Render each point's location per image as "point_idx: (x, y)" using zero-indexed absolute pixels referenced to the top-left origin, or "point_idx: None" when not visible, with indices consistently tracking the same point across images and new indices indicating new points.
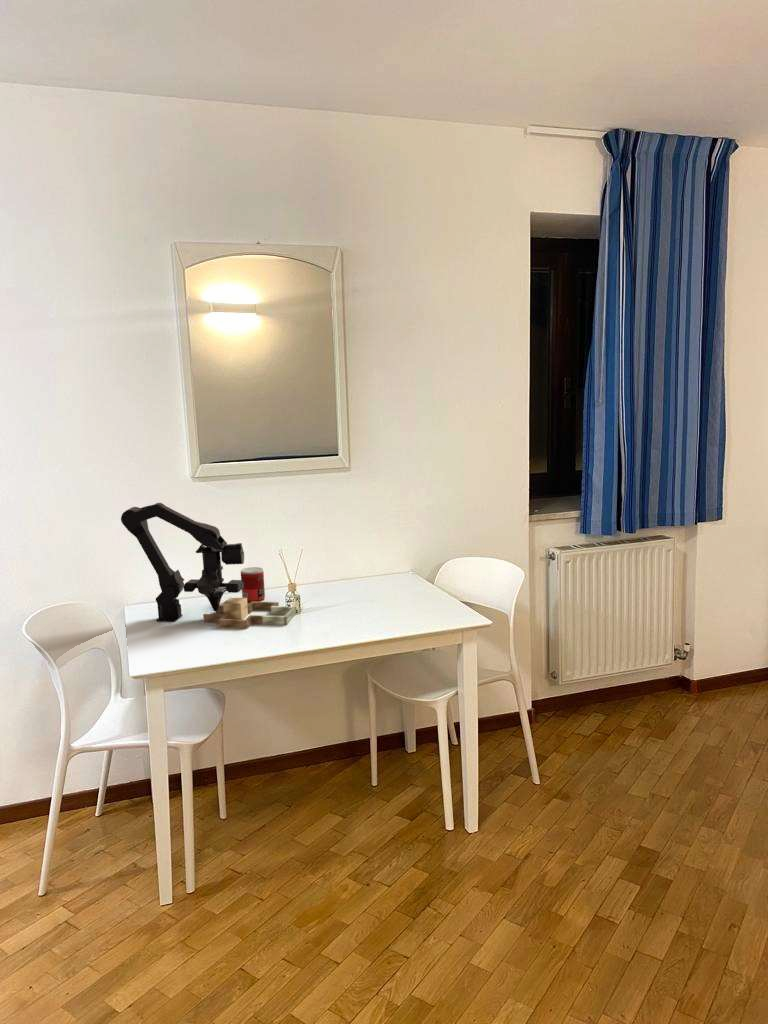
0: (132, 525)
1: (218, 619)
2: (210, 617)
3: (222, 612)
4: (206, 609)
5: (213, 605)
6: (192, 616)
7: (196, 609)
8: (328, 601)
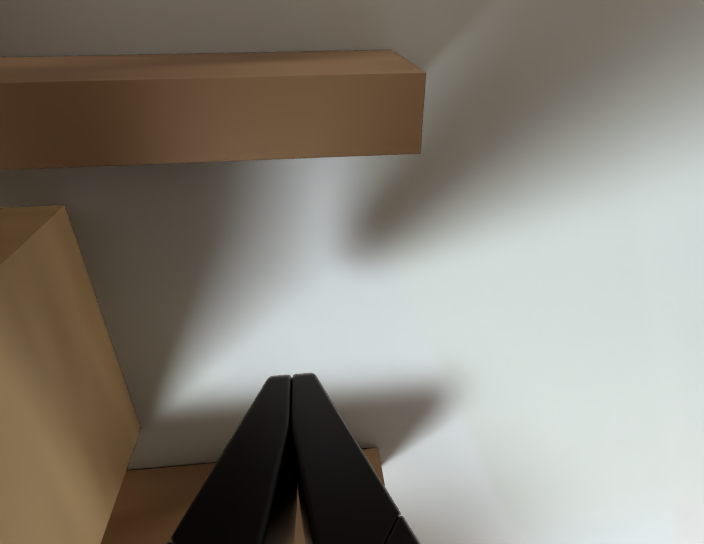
0: None
1: (39, 67)
2: (229, 65)
3: None
4: (519, 502)
5: (304, 455)
6: (643, 300)
7: (625, 485)
8: None
